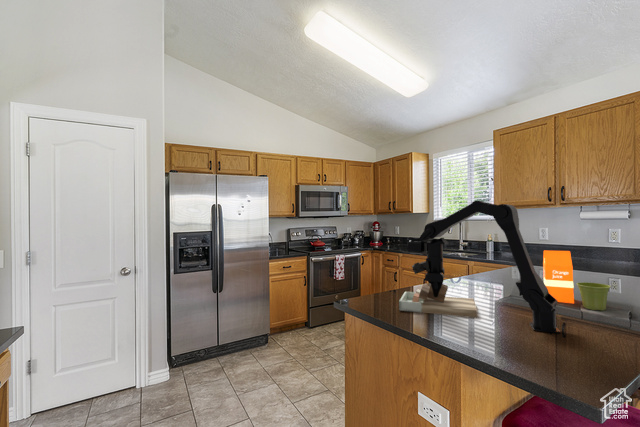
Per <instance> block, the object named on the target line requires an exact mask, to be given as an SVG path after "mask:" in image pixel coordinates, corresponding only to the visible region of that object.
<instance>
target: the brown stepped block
mask: <svg viewBox="0 0 640 427" xmlns="http://www.w3.org/2000/svg"><path fill="white" fill-rule="evenodd" d="M448 288H449V286H448V285H446V284H444V283H443V284H442V286H441V289H440V291H439V294H438V296H437V297H434V294H433V290H432V286H431V284H430V285H427V284H422V286H421V289H420V290H421V291H420V294H419V298H421V299H424V300H426V299H427V297H428V298H431V299H433V300H436V301H439V302H442V303H444V299H445V297H447V292H448Z"/></svg>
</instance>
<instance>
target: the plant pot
mask: <svg viewBox="0 0 640 427" xmlns="http://www.w3.org/2000/svg"><path fill="white" fill-rule="evenodd" d="M576 286H577V287H578V289H579V292H580V298H581V302H582V306H583V308H585V309H587V310H592V311H596V310H597V311H600V312H601V311H606V309H607V301H608V293H609V291H610V288H612V287H611V285H609V284H605V283H598V282H576Z"/></svg>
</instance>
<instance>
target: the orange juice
mask: <svg viewBox="0 0 640 427" xmlns="http://www.w3.org/2000/svg"><path fill="white" fill-rule="evenodd" d="M572 261H573V260H572V256H571V251H570V250H543V261H542V268H543V282H544V284H545V286H546V287H547V289H548V292H549V294H551V295H552V296H553V297H554V298H555V299H556V300H557V301H558V302H557V303H566V304H575V295H574V288H575V286H574V271H573V270H574V268H573V262H572Z"/></svg>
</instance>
